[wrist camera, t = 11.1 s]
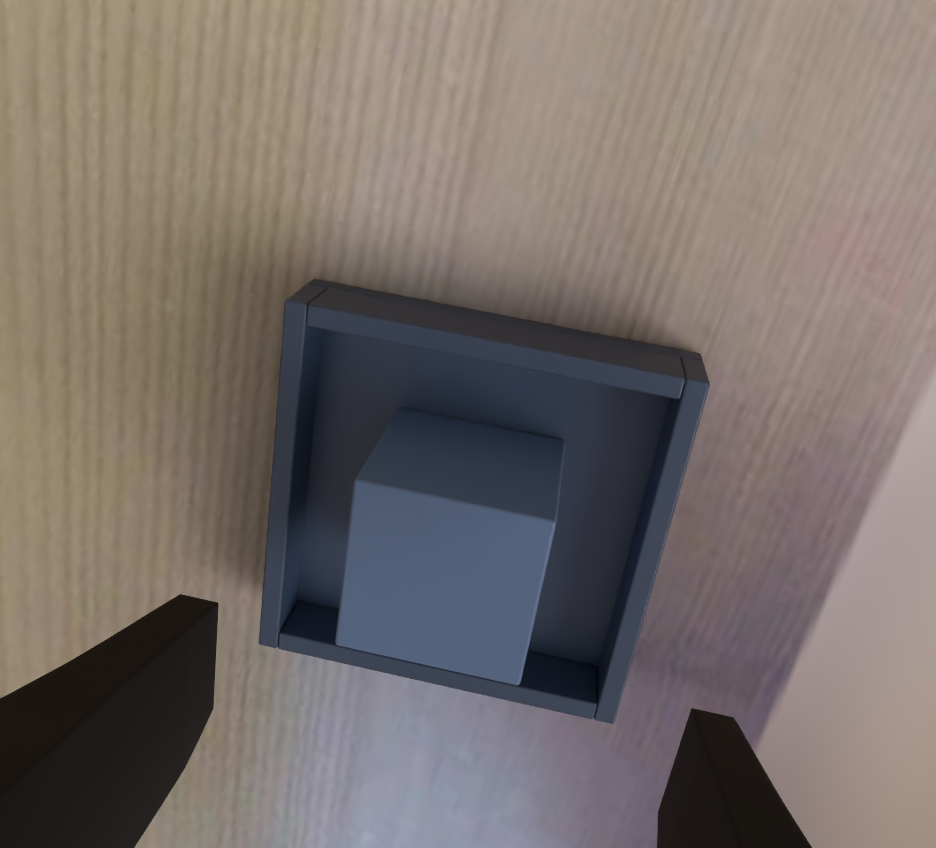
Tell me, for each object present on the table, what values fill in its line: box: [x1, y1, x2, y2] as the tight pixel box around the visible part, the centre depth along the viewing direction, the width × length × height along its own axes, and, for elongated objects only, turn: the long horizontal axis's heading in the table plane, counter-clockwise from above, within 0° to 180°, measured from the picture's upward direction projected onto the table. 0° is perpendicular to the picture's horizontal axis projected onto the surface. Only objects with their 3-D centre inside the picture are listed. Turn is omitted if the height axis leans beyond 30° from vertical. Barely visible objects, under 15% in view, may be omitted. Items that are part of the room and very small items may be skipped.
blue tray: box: [259, 279, 710, 724], centre depth 21 cm, size 9×9×2 cm
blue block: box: [335, 407, 565, 685], centre depth 20 cm, size 4×4×4 cm
